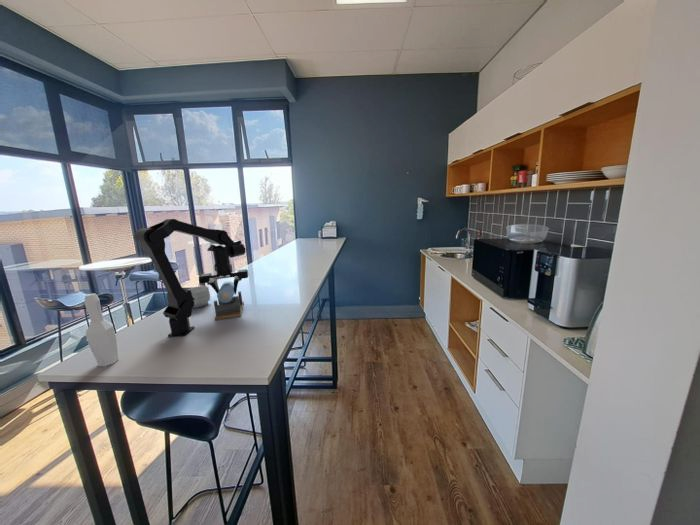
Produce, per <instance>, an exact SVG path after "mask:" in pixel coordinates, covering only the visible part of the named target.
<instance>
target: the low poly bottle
mask: <svg viewBox="0 0 700 525" xmlns="http://www.w3.org/2000/svg"><path fill="white" fill-rule="evenodd" d="M83 304H84V306H85V309H86V310H87V313H88V316H89V320H90V323H89V325H88V327H87V329H86V331H85V335H86V336H85V337H86V340H87V342H88V346H89V348H90V350H91V352H92V354H93V357H94V358H95V361H96V363H97V365H98V367H99V366H103V367H108V366H111V365H114V364H115V363H117V362H118V361H119V353H118V343H117V335H116V332H115V329H114V328H115V327H114V324H113V322H110V321H108V320H107V319H105V318H104V315H103V311H102V309H101V308H102V307H101V301H100V298H99V296H98V295H97V294H96V293H95V292H94V293H88V294H86V295H84V302H83ZM117 360H118V361H117ZM116 361H117V362H116ZM113 363H114V364H113ZM110 364H111V365H110ZM107 365H108V366H107Z"/></svg>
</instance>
